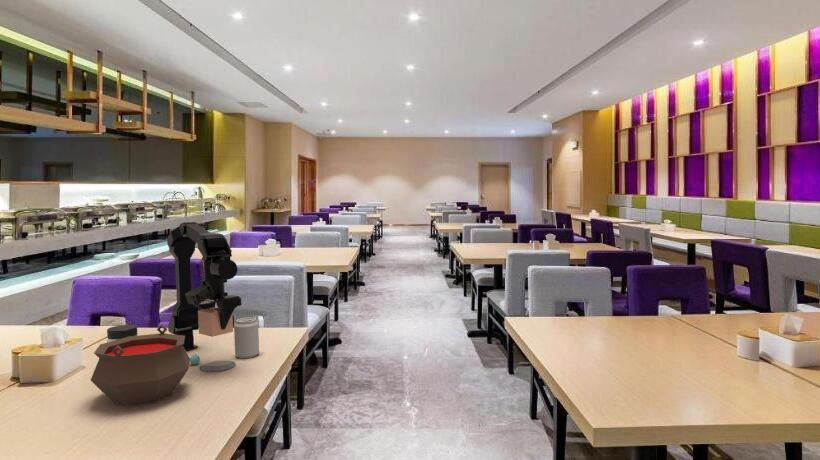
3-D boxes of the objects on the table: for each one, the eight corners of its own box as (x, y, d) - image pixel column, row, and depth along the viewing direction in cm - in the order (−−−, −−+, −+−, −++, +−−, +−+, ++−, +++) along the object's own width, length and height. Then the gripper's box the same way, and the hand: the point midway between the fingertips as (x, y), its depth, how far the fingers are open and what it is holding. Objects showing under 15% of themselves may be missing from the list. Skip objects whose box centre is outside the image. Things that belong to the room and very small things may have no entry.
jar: (137, 368, 161) (135, 329, 160) (106, 372, 158) (104, 332, 157) (140, 360, 169) (139, 323, 168) (111, 363, 166) (109, 325, 165)
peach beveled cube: (198, 333, 160) (197, 310, 160) (219, 328, 166) (218, 306, 165) (212, 336, 156) (211, 313, 155) (233, 331, 161) (232, 308, 161)
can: (252, 359, 168) (250, 322, 167) (230, 358, 169) (229, 321, 168) (263, 352, 175) (262, 316, 174) (242, 351, 177) (241, 316, 176)
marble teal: (188, 364, 163) (187, 355, 163) (196, 362, 166) (196, 352, 166) (193, 366, 162) (193, 356, 161) (202, 364, 164) (202, 354, 164)
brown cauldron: (125, 380, 151) (122, 323, 150) (208, 379, 150) (206, 322, 149) (68, 414, 127) (64, 347, 126) (167, 414, 126) (164, 346, 125)
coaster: (193, 368, 160) (193, 366, 160) (222, 359, 168) (222, 358, 168) (213, 374, 154) (213, 372, 154) (242, 364, 162) (242, 363, 162)
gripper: (171, 277, 159) (174, 329, 160) (207, 282, 148) (209, 338, 149) (205, 272, 168) (207, 321, 169) (241, 277, 157) (243, 329, 157)
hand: (216, 327), depth 161 cm, fingers closed on peach beveled cube, 7 cm apart
